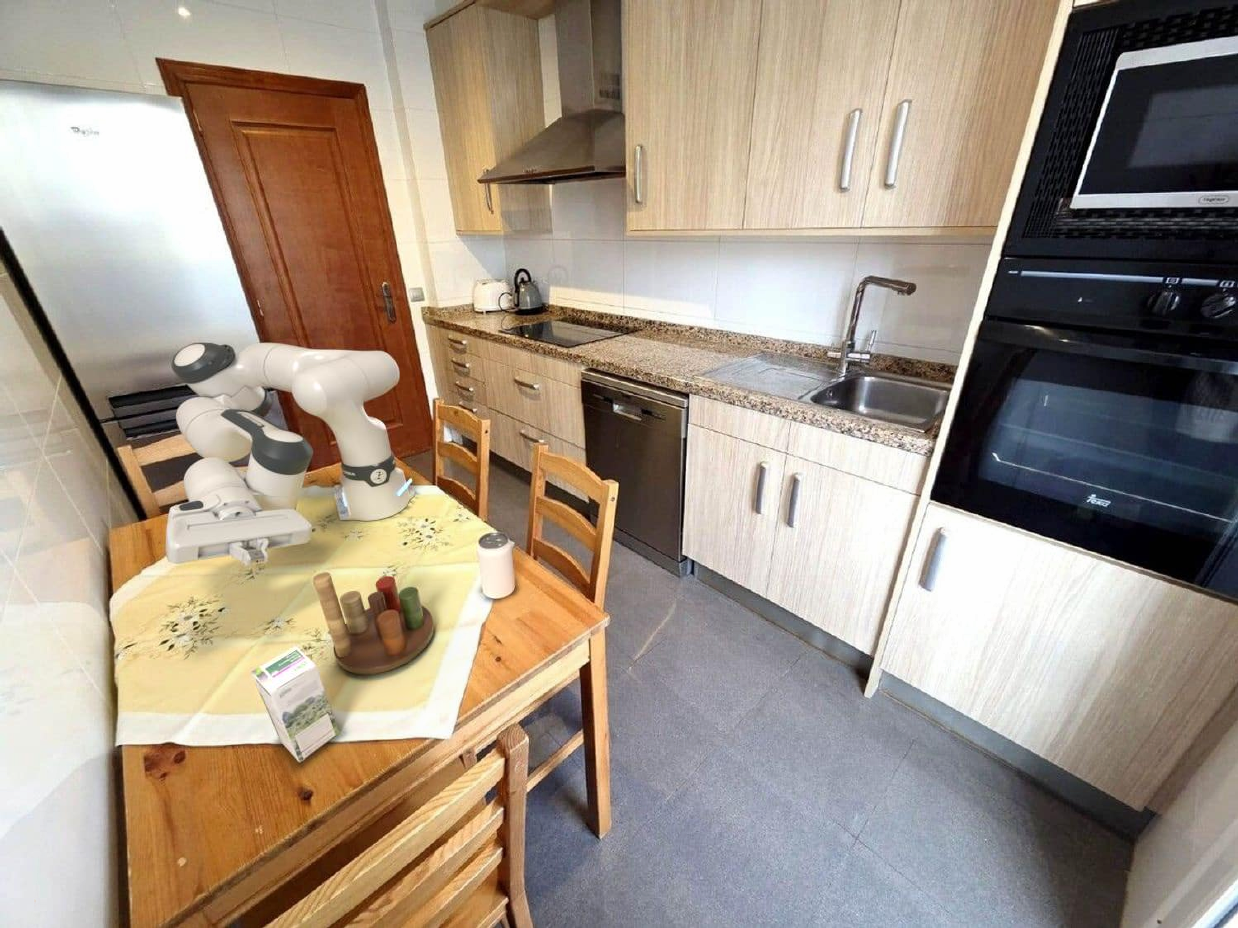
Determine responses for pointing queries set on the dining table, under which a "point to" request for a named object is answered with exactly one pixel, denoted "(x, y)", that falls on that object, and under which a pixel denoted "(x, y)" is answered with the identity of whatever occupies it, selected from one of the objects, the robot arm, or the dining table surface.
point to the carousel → (375, 625)
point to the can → (496, 565)
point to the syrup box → (296, 702)
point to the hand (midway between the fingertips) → (257, 561)
